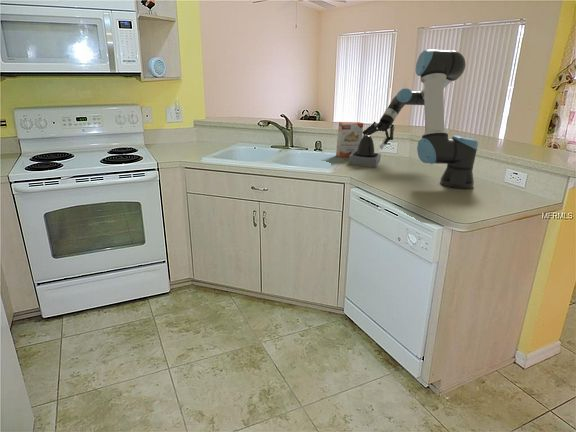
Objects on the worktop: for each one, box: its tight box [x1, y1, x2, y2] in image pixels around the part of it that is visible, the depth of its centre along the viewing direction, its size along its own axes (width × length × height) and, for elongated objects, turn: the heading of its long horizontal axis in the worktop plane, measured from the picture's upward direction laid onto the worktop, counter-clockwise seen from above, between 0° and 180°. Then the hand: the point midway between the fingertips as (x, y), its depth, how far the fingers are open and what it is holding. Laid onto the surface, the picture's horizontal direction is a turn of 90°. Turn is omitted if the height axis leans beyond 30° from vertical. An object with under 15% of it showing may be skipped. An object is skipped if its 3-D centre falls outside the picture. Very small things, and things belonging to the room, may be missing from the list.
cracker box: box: [335, 121, 364, 158], centre depth 241 cm, size 14×6×21 cm, turn 105°
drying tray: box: [348, 151, 382, 168], centre depth 228 cm, size 16×16×5 cm
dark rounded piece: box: [357, 135, 376, 158], centre depth 226 cm, size 10×10×15 cm
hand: (370, 146), depth 229 cm, fingers open, 13 cm apart
